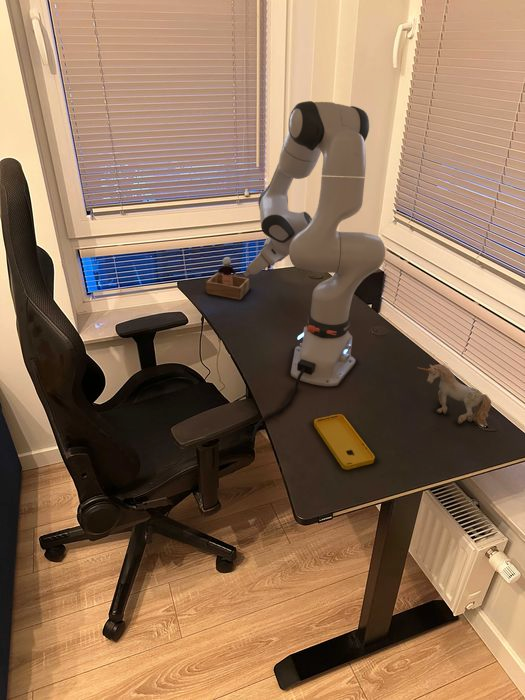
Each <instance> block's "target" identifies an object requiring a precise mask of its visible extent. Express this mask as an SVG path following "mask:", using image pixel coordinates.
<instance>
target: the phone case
mask: <svg viewBox="0 0 525 700" xmlns="http://www.w3.org/2000/svg"><path fill="white" fill-rule="evenodd" d="M313 427H314V428H315V430H316V431H317V433H318V435H320V437H321V439H322V440H323V442H324V444H325V445H326V446H327V448H328V449H329V451H330V452H331V454H332V455H333V456H334V458H335V459H336V462H338V464H339V466H340V467H341V468H342V469H343V470H346V471H348V470H349V471H350V470H352V469H356V468H360V467H364V466H368V465H372V464H374V463H375V459H376V456H375V454H374V453H373V452H372V451H371V449H370V448H369V447H368V446H367V444H366V443H365V442H364V440H363V438H361V436H360V435H359V434H358V432H357V431H356V430H355V429H354V426H352V425H351V423H350V422H349V421H348V420H347V418H346V417H345V416H344V414H341V413H337V414H332V415H328V416H323V417H317V418H315V419H314V420H313ZM348 451H352V454H348Z"/></svg>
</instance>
